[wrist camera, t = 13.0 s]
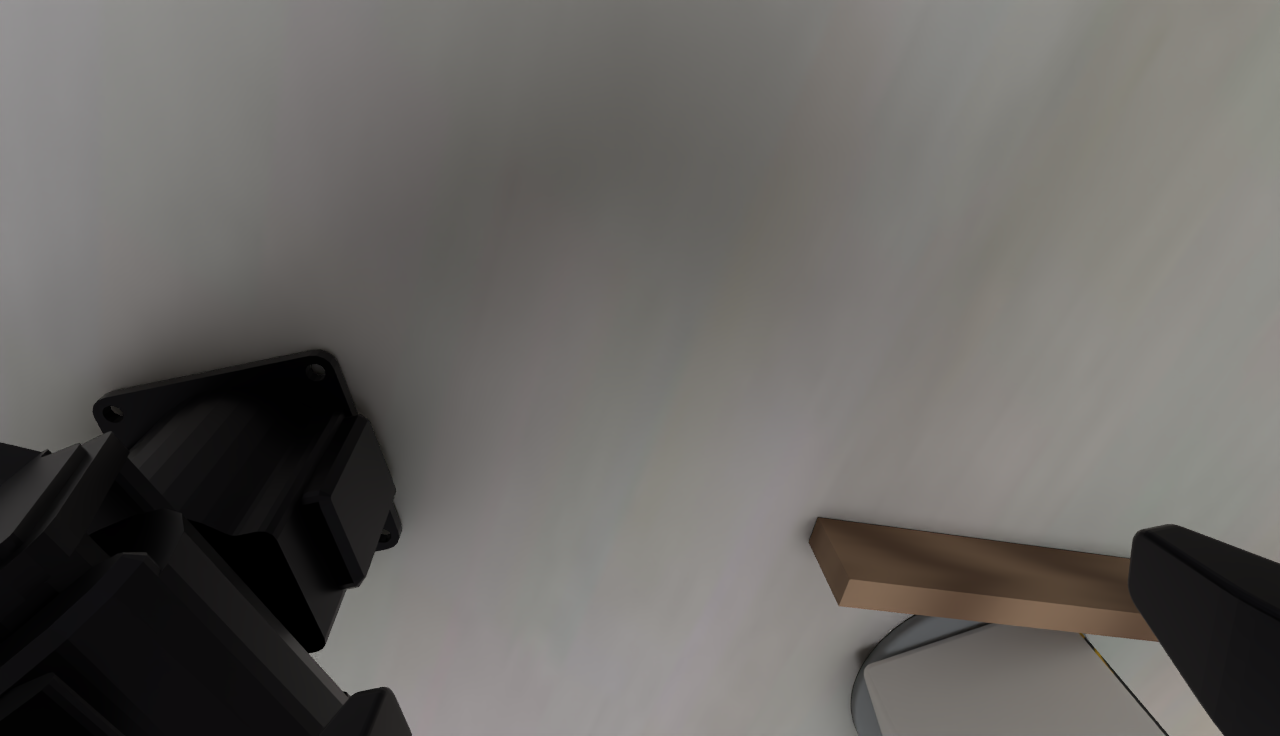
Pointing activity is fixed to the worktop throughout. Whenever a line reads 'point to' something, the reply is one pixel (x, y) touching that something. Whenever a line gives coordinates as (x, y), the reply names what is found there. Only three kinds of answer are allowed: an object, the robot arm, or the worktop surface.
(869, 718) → the mat
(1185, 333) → the worktop surface
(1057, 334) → the worktop surface
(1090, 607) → the board
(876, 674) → the medicine bottle
